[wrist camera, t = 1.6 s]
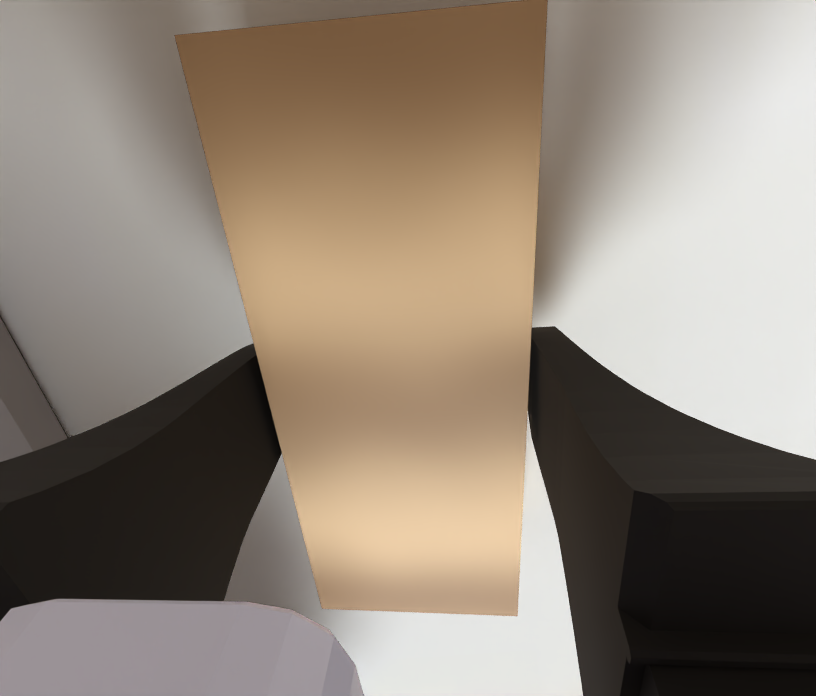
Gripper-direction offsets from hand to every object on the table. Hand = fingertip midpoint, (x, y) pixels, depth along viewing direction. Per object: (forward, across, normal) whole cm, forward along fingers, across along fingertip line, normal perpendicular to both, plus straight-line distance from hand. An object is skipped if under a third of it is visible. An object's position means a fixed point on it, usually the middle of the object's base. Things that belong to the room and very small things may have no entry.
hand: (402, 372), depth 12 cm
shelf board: (+2, 0, 0) cm, 2 cm away
